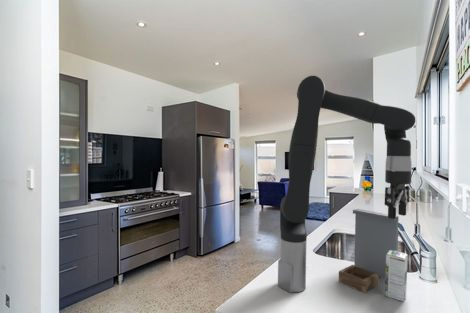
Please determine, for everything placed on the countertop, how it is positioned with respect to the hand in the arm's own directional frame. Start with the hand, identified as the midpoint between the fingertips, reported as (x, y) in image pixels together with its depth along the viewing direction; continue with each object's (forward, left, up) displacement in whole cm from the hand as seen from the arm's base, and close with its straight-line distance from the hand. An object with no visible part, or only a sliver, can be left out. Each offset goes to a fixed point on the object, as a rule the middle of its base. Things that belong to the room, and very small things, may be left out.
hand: (397, 216), depth 89 cm
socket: (-2, +12, -27) cm, 30 cm away
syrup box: (0, 0, -27) cm, 27 cm away
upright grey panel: (+10, +12, -27) cm, 31 cm away
